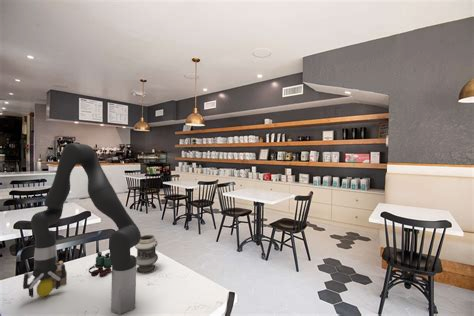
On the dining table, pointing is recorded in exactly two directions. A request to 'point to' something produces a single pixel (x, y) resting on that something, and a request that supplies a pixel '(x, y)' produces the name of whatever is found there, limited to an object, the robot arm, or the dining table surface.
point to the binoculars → (101, 265)
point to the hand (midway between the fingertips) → (45, 292)
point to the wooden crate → (58, 271)
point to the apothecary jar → (146, 254)
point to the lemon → (44, 287)
